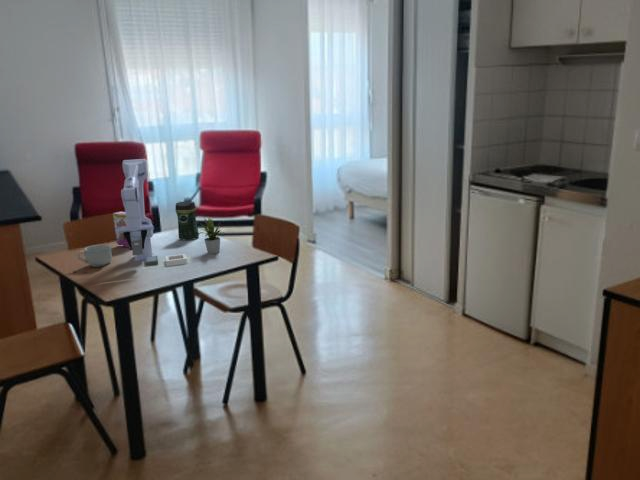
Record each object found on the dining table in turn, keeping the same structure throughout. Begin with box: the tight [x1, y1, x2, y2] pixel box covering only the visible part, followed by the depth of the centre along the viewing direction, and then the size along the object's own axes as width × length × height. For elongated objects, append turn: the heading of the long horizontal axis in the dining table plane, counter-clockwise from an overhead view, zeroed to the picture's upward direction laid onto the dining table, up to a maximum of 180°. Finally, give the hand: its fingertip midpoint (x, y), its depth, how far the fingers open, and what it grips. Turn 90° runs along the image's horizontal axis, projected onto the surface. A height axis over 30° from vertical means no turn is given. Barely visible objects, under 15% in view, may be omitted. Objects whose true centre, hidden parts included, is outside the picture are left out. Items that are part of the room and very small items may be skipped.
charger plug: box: [131, 238, 143, 256], centre depth 246 cm, size 4×4×6 cm
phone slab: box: [144, 255, 159, 266], centre depth 254 cm, size 9×5×2 cm, turn 17°
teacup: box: [76, 244, 113, 268], centre depth 256 cm, size 14×11×8 cm
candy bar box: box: [112, 211, 130, 248], centre depth 286 cm, size 11×5×16 cm, turn 58°
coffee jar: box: [175, 201, 200, 241], centre depth 295 cm, size 10×8×19 cm
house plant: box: [198, 217, 225, 255], centre depth 267 cm, size 14×14×16 cm
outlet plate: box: [141, 253, 193, 270], centre depth 253 cm, size 13×20×3 cm, turn 107°
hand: (137, 248), depth 247 cm, fingers closed on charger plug, 4 cm apart
